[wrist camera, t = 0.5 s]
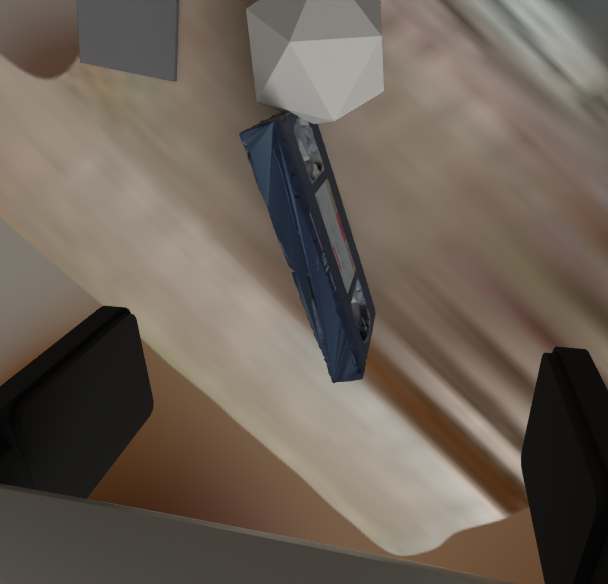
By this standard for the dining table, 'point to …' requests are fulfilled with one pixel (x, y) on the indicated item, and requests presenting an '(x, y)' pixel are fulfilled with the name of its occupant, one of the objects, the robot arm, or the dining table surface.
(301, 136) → the vhs cassette tape
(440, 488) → the dining table surface
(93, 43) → the coaster
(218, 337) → the dining table surface
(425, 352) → the dining table surface
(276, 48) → the die
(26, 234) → the dining table surface
